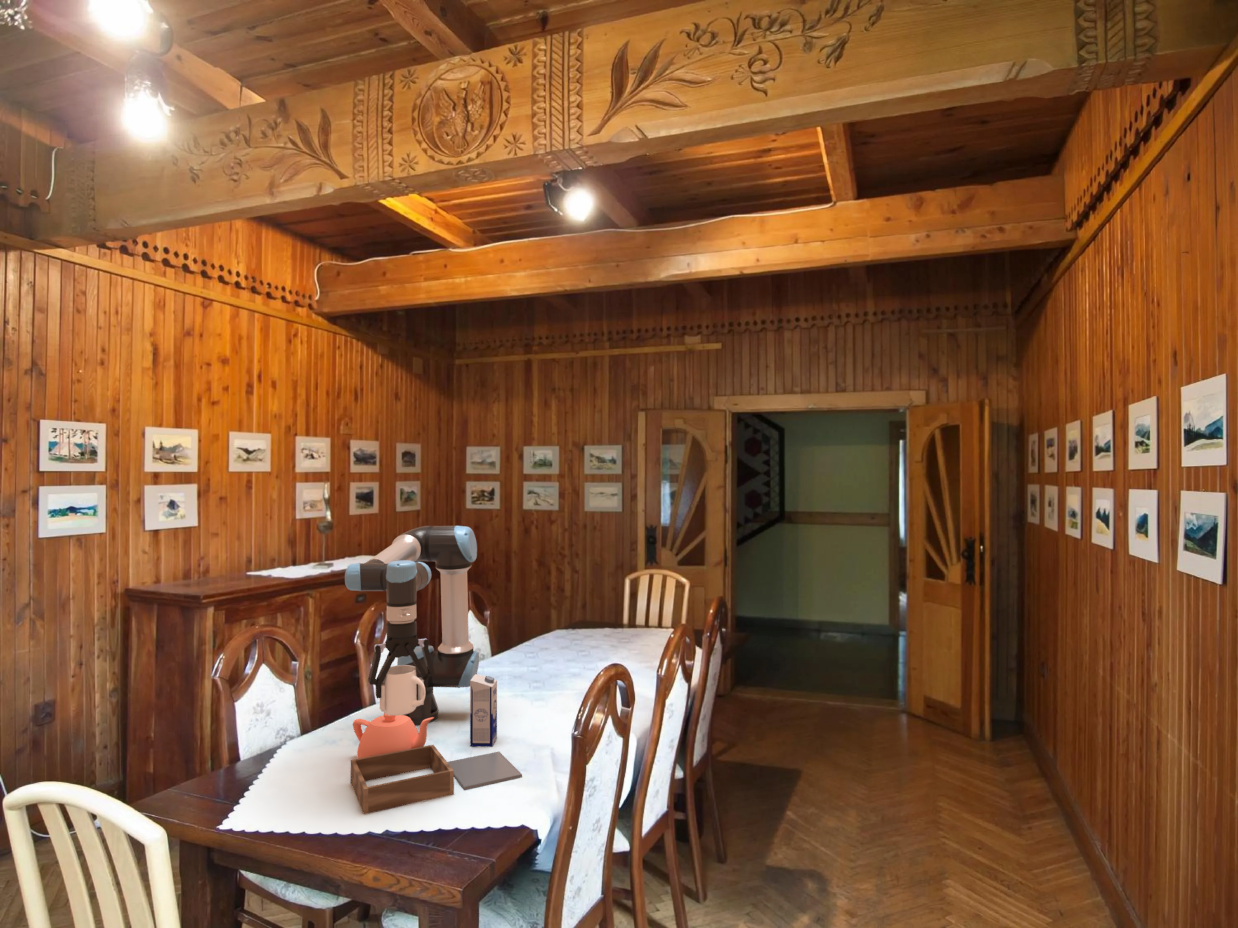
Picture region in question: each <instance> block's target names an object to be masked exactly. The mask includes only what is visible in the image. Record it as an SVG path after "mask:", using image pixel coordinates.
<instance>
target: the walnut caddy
mask: <svg viewBox="0 0 1238 928" xmlns="http://www.w3.org/2000/svg"><path fill="white" fill-rule="evenodd" d="M447 762H448V761H447V760H446V758H445V757H444V756H443V754H441V752H440V751H439V750H438V748H437V747H436V746H435V745H434V744H430V745H424V746H423V747H418V748H412V749H407V750H402V751H396V752H391V753H385V754H380V755H375V756H369V757H364V758H359V759H358V758H354V759H351V760H350V774H349V775H350V783H349V784H350V785H351V787H352V790H353V792H354V794H355V797H356V799H357V801H358V803H359V806H360V808H361V809H360V810H361V811H362V813H363V815H367V814H370V813H375V812H381V811H385V810H389V809H393V808H398V807H402V806H407V805H412V804H416V803H421V802H425V801H429V800H433V799H437V798H443V797H447V796H451V795H454V793H455V778H454V770H453V769H452V768H451V766H450V765H449V764H448V763H447ZM428 769H430V770H431V771H432V772H433V773H428V774H422V775H418V776H414V777H408V778H404V779H399V780H394V781H389V782H384V783H380V784H375V785H374V784H373V785H367V783H366V782H368V781H374V780H378V779H379V780H380V779H383V778H389V777H393V776H398V775H403V774H408V773H412V772H413V773H415V772H417V771H423V770H428Z"/></svg>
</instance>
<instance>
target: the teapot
mask: <svg viewBox="0 0 1238 928" xmlns="http://www.w3.org/2000/svg"><path fill="white" fill-rule="evenodd" d="M433 718H434V717H432V718H427V719H425V720H423V721H422V723H421V724H419V725H420V726H419V730H418V728H417V726H416V725H414V723H413V721H412V720H411V719H410V718H409V717H408V716H404V715H387V714H385V713H384V712H383V715H380V716H378V717H375V718H373V719H372V720H371V721H370V720H367V719H363V718H356V719H354V720H353V723H352V727H353V732H354V734H355V736H356V738H357V740H358V742H359V743H358V747H357V752H356V753H357V759H359V758H364V757H369V756H375V755H380V754H385V753H391V752H396V751H402V750H407V749H412V748H418V747H423V746H426V745H425V744H426V742H427V735H428V734H427V729H428V725H429V723H431V722H432V721H431V720H432V719H433ZM430 721H431V722H430ZM362 726H365V727H366V728H365V729H364V730H362ZM363 731H364V732H363Z"/></svg>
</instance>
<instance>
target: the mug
mask: <svg viewBox="0 0 1238 928" xmlns="http://www.w3.org/2000/svg"><path fill="white" fill-rule="evenodd" d="M383 684H384V685H385V711H382V712H383V714H384V713H385V714H387V715H404V714H408V713H411V712H413V711H414V710H415V709H416V707H417V706H420V705H421V704H422V703H423V702H424V699H425V693H426V691H425V686H424V684H423V682H422V681H421V680H420V679H419V678H418V677H417V676H416V667H414V666H410V665H398V666H397V665H393V666H392V665H391V667H390V669H389V671H388V673H387V675H386V677H385V679H384V681H383ZM417 684H419V685H420V686H421V687H422V689H423V691H424V696H423V698H422V699H421V700H420V701H418V700H417Z"/></svg>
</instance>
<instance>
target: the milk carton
mask: <svg viewBox="0 0 1238 928" xmlns="http://www.w3.org/2000/svg"><path fill="white" fill-rule="evenodd" d="M469 691H470V693H469V700H470V701H469V703H470V704H469V715H470V716H469V732H470V733H469V747H472V748H473V747H477V748H478V747H481V748H482V747H484V748H488V747H489V748H492V747H493V746H494V745H495V743H496V741H497V739H498V679H495V678H494V677H492V676H489V675H488V676H487V675H486V676H485V675H482V674H478V673H477V674H475V675H474V676H473V678H472V679H471V680H470V687H469Z"/></svg>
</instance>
